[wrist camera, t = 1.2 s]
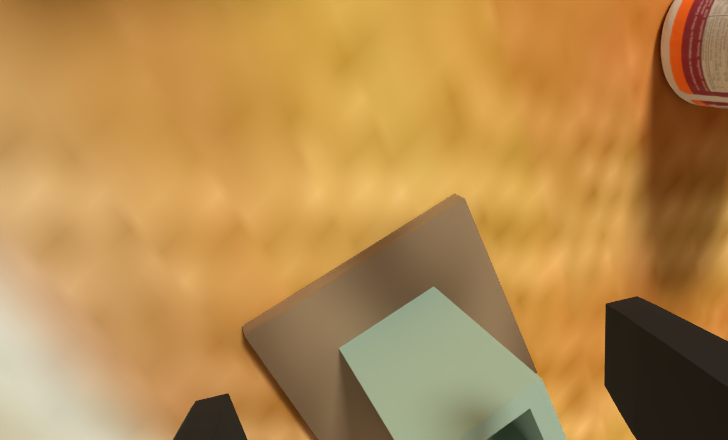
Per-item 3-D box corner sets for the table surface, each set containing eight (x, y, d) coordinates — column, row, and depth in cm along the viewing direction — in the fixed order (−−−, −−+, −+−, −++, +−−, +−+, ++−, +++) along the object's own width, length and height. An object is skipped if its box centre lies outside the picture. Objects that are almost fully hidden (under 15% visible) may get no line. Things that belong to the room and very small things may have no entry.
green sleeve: (385, 423, 23) (468, 560, 17) (339, 348, 22) (412, 470, 15) (471, 364, 24) (581, 474, 18) (434, 286, 22) (541, 378, 16)
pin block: (353, 485, 25) (389, 565, 21) (241, 326, 21) (261, 390, 17) (526, 363, 26) (589, 417, 23) (454, 193, 22) (516, 223, 18)
